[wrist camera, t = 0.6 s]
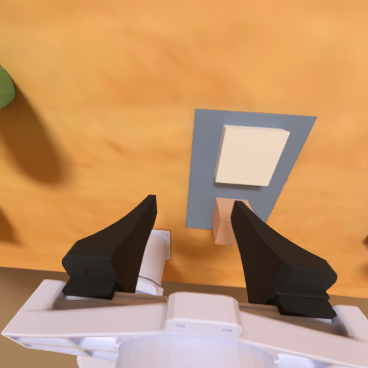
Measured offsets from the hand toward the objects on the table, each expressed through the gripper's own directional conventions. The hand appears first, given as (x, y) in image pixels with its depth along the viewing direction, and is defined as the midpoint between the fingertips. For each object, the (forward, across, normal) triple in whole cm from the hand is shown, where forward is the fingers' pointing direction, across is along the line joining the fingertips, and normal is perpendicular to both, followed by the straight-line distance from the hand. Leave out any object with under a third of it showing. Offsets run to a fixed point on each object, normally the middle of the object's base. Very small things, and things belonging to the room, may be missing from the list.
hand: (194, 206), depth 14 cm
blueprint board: (+10, -6, +3) cm, 12 cm away
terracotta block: (+9, -6, +8) cm, 13 cm away
